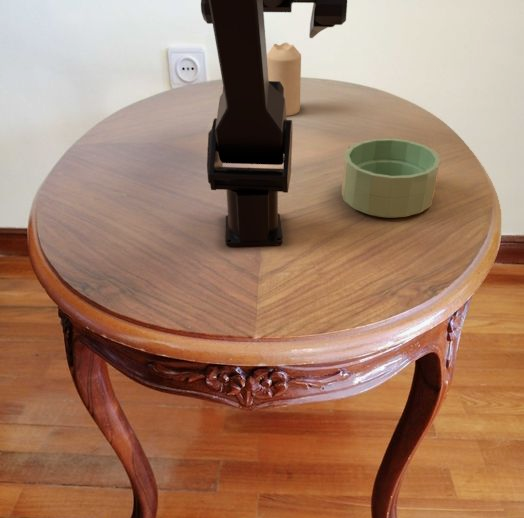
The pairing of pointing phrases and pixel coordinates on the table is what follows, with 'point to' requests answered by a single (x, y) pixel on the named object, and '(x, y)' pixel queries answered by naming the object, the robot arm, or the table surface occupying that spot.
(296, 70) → the candle
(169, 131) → the table surface
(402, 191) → the green pet bowl
